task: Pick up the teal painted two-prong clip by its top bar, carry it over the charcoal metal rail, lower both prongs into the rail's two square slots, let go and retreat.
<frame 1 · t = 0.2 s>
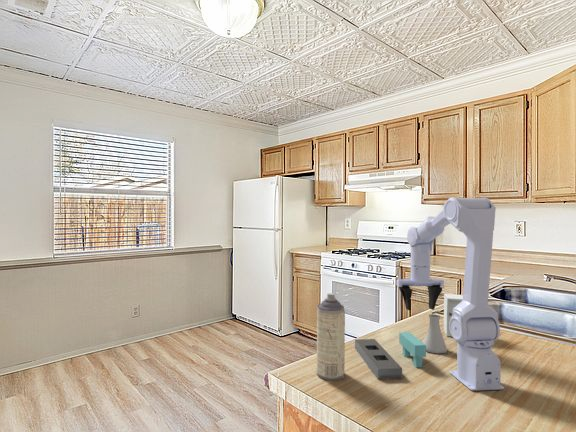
hand: (419, 309, 113), 10 cm above the counter, fingers open, 7 cm apart
rail: (376, 361, 97), on the counter
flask: (434, 350, 106), on the counter
aerosol can: (330, 375, 89), on the counter
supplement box: (456, 334, 119), on the counter
clip: (411, 360, 98), on the counter
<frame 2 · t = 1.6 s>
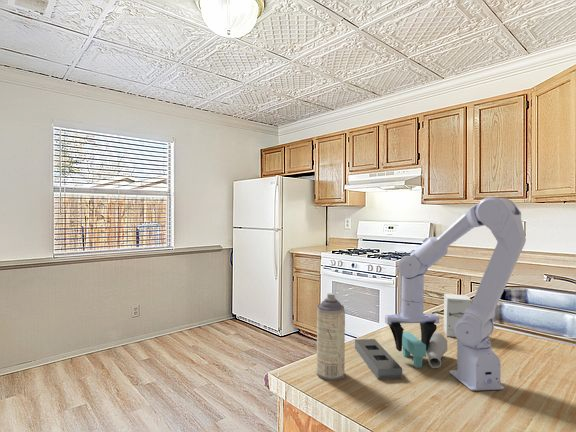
hand: (411, 349, 98), 3 cm above the counter, fingers open, 7 cm apart
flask: (434, 342, 102), point 3 cm above the counter, touching gripper
everything else where it was.
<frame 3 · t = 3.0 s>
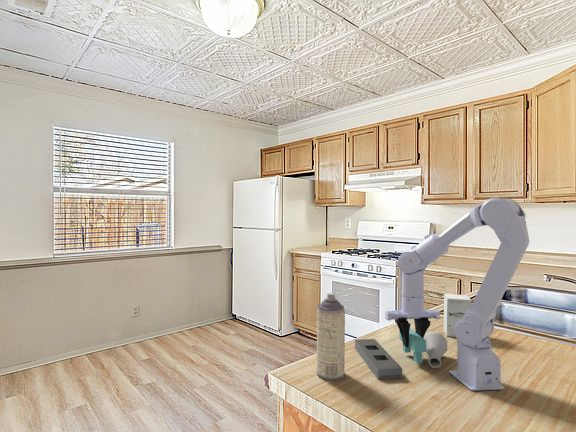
hand: (412, 345, 98), 4 cm above the counter, fingers closed on clip, 3 cm apart
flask: (434, 342, 102), point 3 cm above the counter
clip: (412, 356, 98), point 1 cm above the counter, touching gripper
everything else where it was.
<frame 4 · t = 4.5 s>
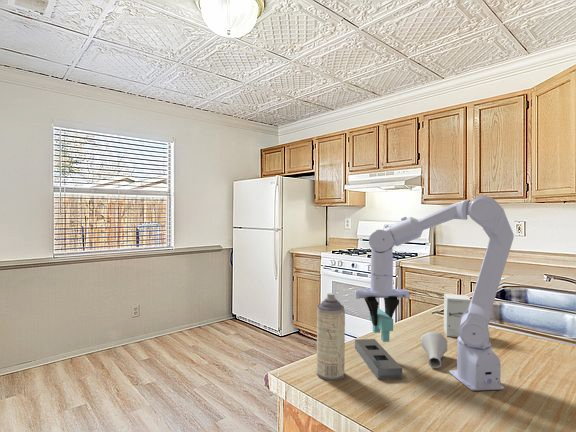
hand: (381, 324, 97), 10 cm above the counter, fingers closed on clip, 3 cm apart
clip: (380, 336, 97), point 7 cm above the counter, touching gripper
everything else where it was.
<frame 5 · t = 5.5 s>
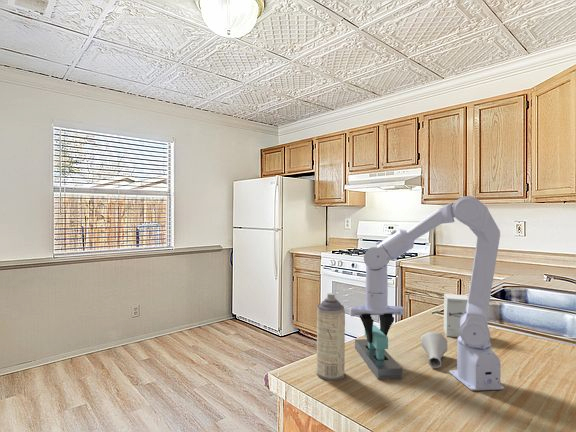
hand: (376, 341, 97), 5 cm above the counter, fingers closed on clip, 3 cm apart
clip: (375, 353, 97), point 2 cm above the counter, touching gripper
everything else where it was.
when the fingers open (3 cm above the counter, at t = 6.6 s): clip stays where it is, resting in rail.
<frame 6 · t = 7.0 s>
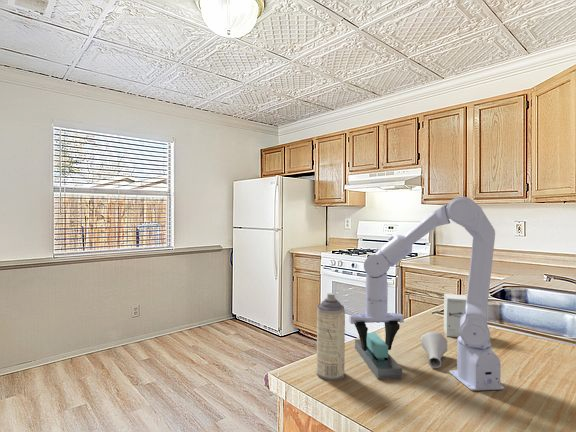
hand: (376, 349, 97), 3 cm above the counter, fingers open, 6 cm apart
clip: (375, 361, 97), resting in rail
everything else where it was.
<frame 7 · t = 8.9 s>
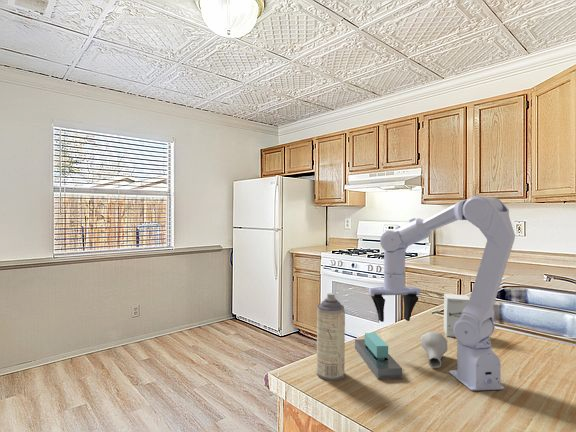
hand: (394, 320, 103), 9 cm above the counter, fingers open, 7 cm apart
nothing on the counter moved.
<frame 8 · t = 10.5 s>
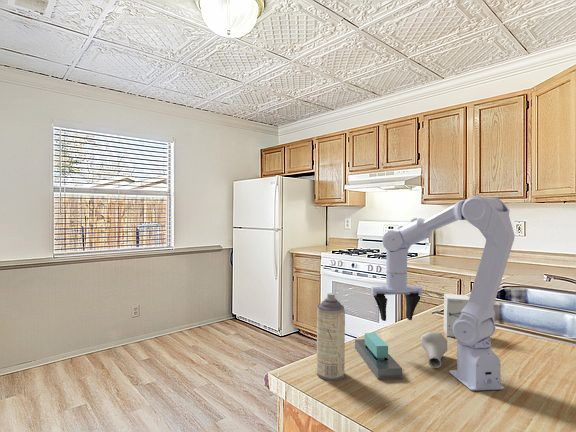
hand: (396, 319, 103), 9 cm above the counter, fingers open, 7 cm apart
nothing on the counter moved.
at the end: clip 0.3 cm off-centre on the rail, point 0.0 cm above the rail's base; clip tilted 0°; the gripper is holding nothing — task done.
